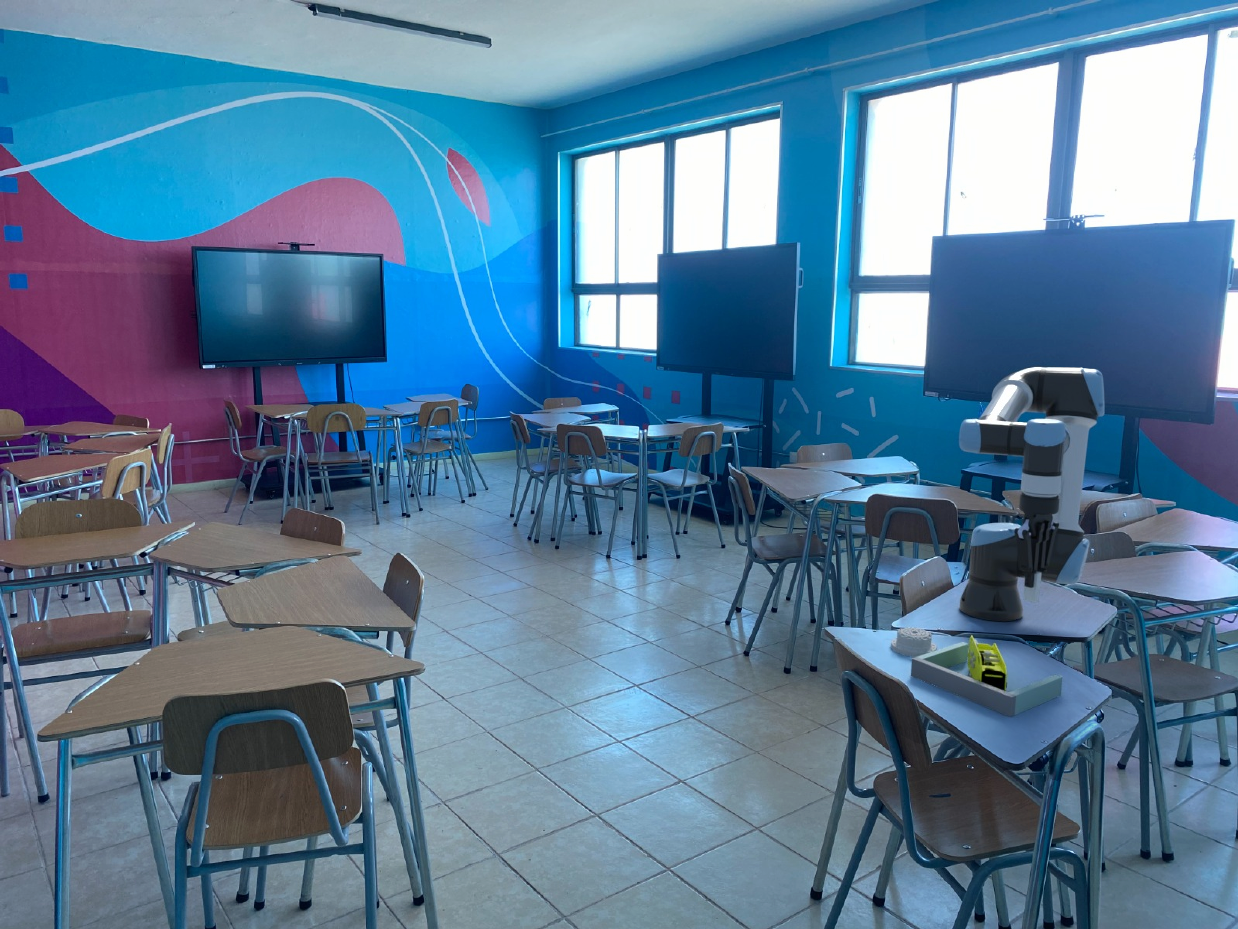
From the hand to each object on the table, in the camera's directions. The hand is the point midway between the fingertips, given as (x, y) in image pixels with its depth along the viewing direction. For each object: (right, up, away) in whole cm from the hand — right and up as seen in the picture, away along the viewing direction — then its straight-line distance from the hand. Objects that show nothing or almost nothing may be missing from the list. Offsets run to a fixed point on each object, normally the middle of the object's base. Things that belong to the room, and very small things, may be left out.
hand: (1031, 600), depth 186 cm
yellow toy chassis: (-12, -17, -5) cm, 21 cm away
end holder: (-12, -17, -5) cm, 21 cm away
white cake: (-20, -14, +14) cm, 29 cm away
